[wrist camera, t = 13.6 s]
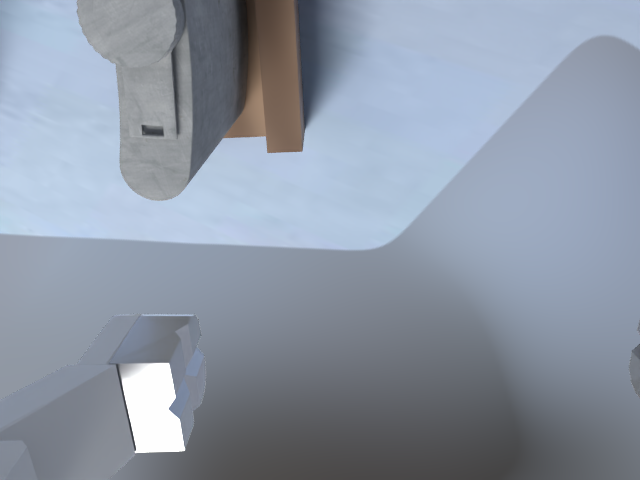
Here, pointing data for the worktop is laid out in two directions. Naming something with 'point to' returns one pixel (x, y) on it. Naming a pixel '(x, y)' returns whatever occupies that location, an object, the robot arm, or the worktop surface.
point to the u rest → (273, 77)
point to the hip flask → (171, 82)
